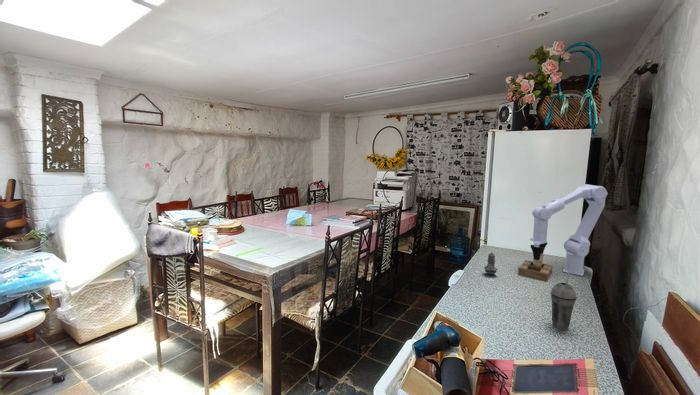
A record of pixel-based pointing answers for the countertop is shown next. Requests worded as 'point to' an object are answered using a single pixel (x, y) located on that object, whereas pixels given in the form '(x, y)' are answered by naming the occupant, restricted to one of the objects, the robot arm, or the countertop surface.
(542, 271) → the block
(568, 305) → the beverage cup
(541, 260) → the beech pin
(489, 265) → the grey chess piece
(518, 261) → the countertop surface
